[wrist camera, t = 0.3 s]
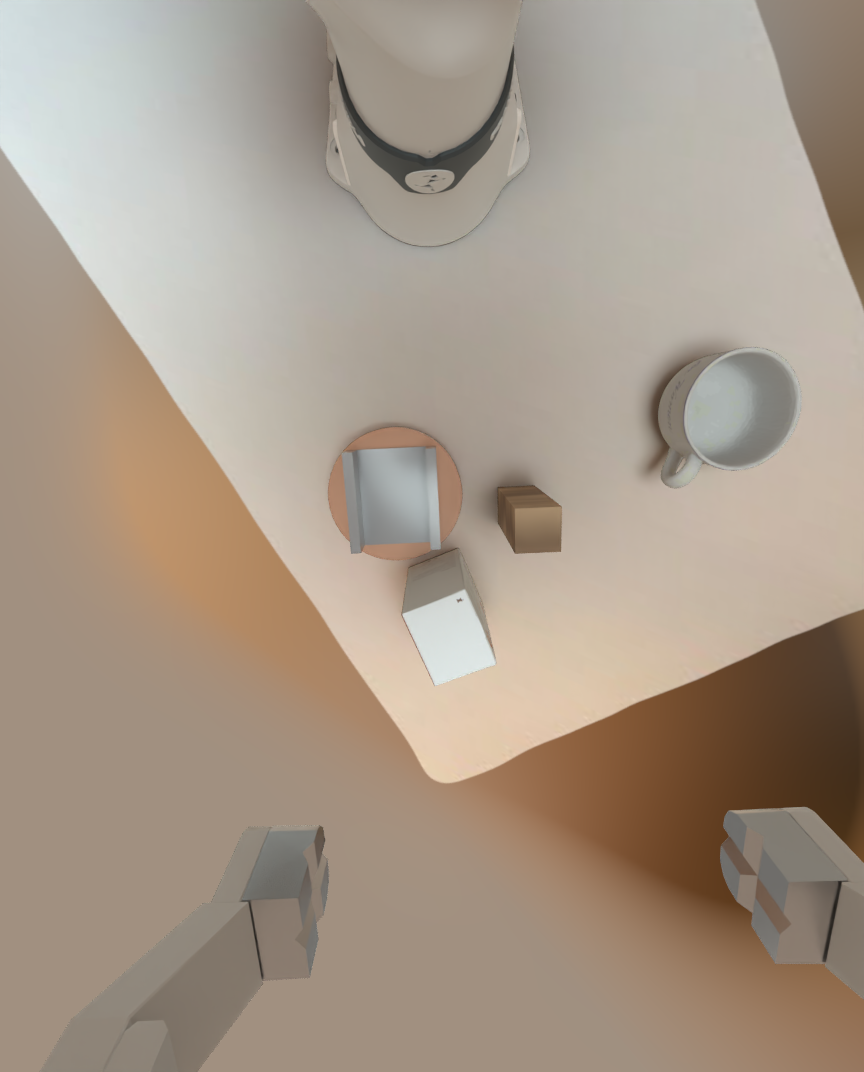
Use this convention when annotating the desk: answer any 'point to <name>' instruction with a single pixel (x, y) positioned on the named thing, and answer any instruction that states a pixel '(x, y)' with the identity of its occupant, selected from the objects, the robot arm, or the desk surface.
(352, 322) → the desk surface
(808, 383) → the desk surface
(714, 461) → the teacup
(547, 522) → the wood grain beam
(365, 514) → the round base with bracket
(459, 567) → the small box
